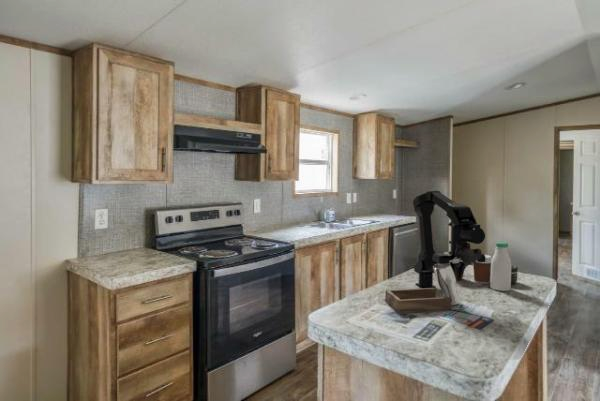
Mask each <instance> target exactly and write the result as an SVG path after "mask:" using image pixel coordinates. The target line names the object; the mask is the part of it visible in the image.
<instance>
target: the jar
mask: <svg viewBox="0 0 600 401" xmlns="http://www.w3.org/2000/svg"><path fill="white" fill-rule="evenodd" d="M518 274H519V270H518V266H517V265H514V264H511V286H512V285H515V284H517V282H518Z"/></svg>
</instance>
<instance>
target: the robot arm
mask: <svg viewBox="0 0 600 401" xmlns="http://www.w3.org/2000/svg"><path fill="white" fill-rule="evenodd" d="M412 204H413V205H412V206H413V208H414V209H413V210H414V212H415V213H416V215H417V217H418V220H419V221H418V222H419V235H420V248H421V250H420V252H419V254H418V256H417V262H416V263H415V264H414V266H413V269H414V270H413V271H414V272H415V273H417V274H418V282H415V285H416V286H417V287H419V289H420V288H435V289H436V288H437V286H435V285H434V281H433V280H434V278H433V277H434V276H433V275H434V274H435V273H434V269H433V266H434V265H435V264H436V263H440V264H448V263H449V262H450V263H451V265H452V267H453V270H454V273H455V277H456V281H461V280H460V279H461V277H462V274H463V275H464V273H465V270H466V268H467V267H469V265H472V264H473V263H476V260H477V261H478V262H486V257H485V255H486V254H484V253H482V249H481V248H471V244H475V245H479V244H483V242H484V240H485V238H486V233H485V231H484V230H483V229H482V228H481V224H479V223H478V222H477V219H476V218H475V215H474V214H473V211H472V209H471V207H470V206H468V205H466V204H463V203H457V202H456V201H454V200H452V199H451V198H449V197H447V196H445V194H444V193H442V192H441V191H440V190H436V189H435V190H428V191H426V192H425V193H422V194H420V195H417V196H415V198H414V200H412ZM436 205H437V206H438V207H439V208H441V210H443V211H445V213H446V216H447V218H448V219H449V220H450V222H448V223H447V225H448V226H449V227H451V231H450V232H451V233H450V235H451V236H450V239H451V240H449V241H448V243H449V245H450V250H449V251H448V252H449V254H450V255H446V254H444V252H437V253H436V251H435V249H434V240H433V238H434V237H433V228H432V226H433V225H432V215H433V213H434V210H435V206H436ZM455 257H457V258H455ZM463 272H464V273H463Z"/></svg>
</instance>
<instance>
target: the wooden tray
mask: <svg viewBox="0 0 600 401" xmlns="http://www.w3.org/2000/svg"><path fill="white" fill-rule="evenodd" d="M436 290H437V289H436V288H420V287H419V288H405V289H404V288H403V289H401V288H400V289H386V290H385V298H384V302H386V303H387V304H388V305H389V306H390V307H391V308H393V310H395V312H397V313H398V314H400V315H404V314H419V313H420V314H421V313H437V312H438V313H439V312H452V311H453V308H452V305H451V299H452V298H451V297H444V296H443V297H442V296H441V297H436V296H437V295H436V294H437V292H436Z"/></svg>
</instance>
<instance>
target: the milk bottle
mask: <svg viewBox="0 0 600 401" xmlns="http://www.w3.org/2000/svg"><path fill="white" fill-rule="evenodd" d="M508 249H509V243H508V242H504V241H496V242H495V251H494V254H493V256H491V258H492V261H491V276H490V283H489V284H490V286H489V287H490V288H491V289H492V290H494V291H498V292H499V291H500V292H509V291H511V287H512V285H511V265H512V259H511V256H510V255H509V253H508Z"/></svg>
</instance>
